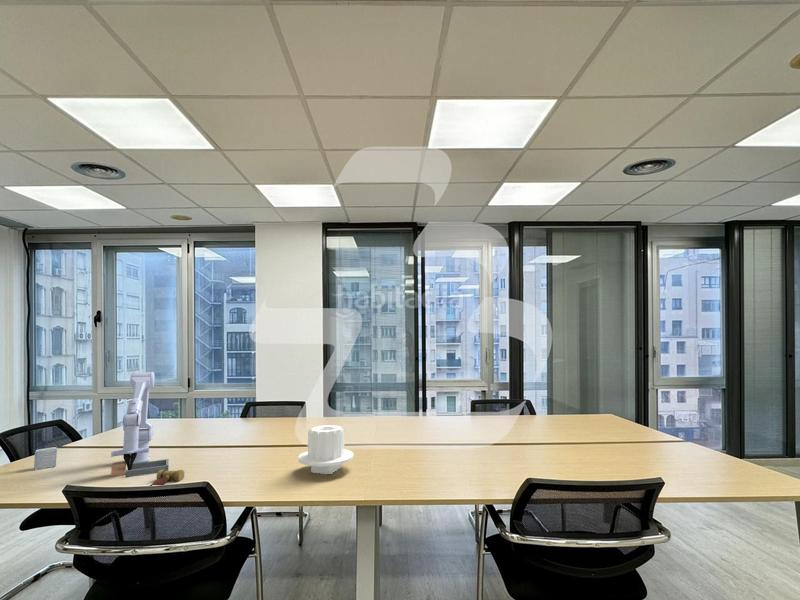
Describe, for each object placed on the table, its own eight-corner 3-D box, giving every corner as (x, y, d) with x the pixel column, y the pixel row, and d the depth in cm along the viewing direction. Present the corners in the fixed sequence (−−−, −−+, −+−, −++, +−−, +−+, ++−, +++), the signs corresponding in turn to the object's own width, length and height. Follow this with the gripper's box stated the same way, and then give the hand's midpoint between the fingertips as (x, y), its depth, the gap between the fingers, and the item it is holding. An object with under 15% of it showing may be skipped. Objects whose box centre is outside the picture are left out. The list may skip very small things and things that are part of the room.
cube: (112, 473, 190) (113, 462, 190) (125, 472, 192) (126, 460, 193) (111, 476, 186) (111, 465, 186) (124, 475, 188) (125, 463, 188)
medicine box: (55, 464, 204) (56, 446, 205) (56, 466, 201) (57, 448, 202) (33, 468, 199) (34, 449, 199) (34, 470, 195) (35, 451, 196)
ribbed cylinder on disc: (336, 482, 177) (337, 436, 178) (286, 476, 185) (287, 432, 187) (362, 465, 200) (362, 424, 202) (316, 460, 209) (317, 421, 210)
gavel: (154, 488, 162) (129, 488, 163) (154, 500, 162) (129, 500, 163) (184, 468, 183) (162, 468, 184) (184, 478, 183) (162, 478, 184)
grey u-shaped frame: (128, 469, 196) (128, 464, 196) (168, 464, 204) (168, 458, 204) (125, 477, 185) (126, 471, 186) (168, 471, 193) (168, 465, 194)
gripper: (110, 444, 185) (109, 475, 184) (149, 439, 192) (147, 470, 191) (112, 440, 191) (111, 471, 190) (149, 436, 198) (148, 466, 197)
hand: (129, 470), depth 191 cm, fingers closed
